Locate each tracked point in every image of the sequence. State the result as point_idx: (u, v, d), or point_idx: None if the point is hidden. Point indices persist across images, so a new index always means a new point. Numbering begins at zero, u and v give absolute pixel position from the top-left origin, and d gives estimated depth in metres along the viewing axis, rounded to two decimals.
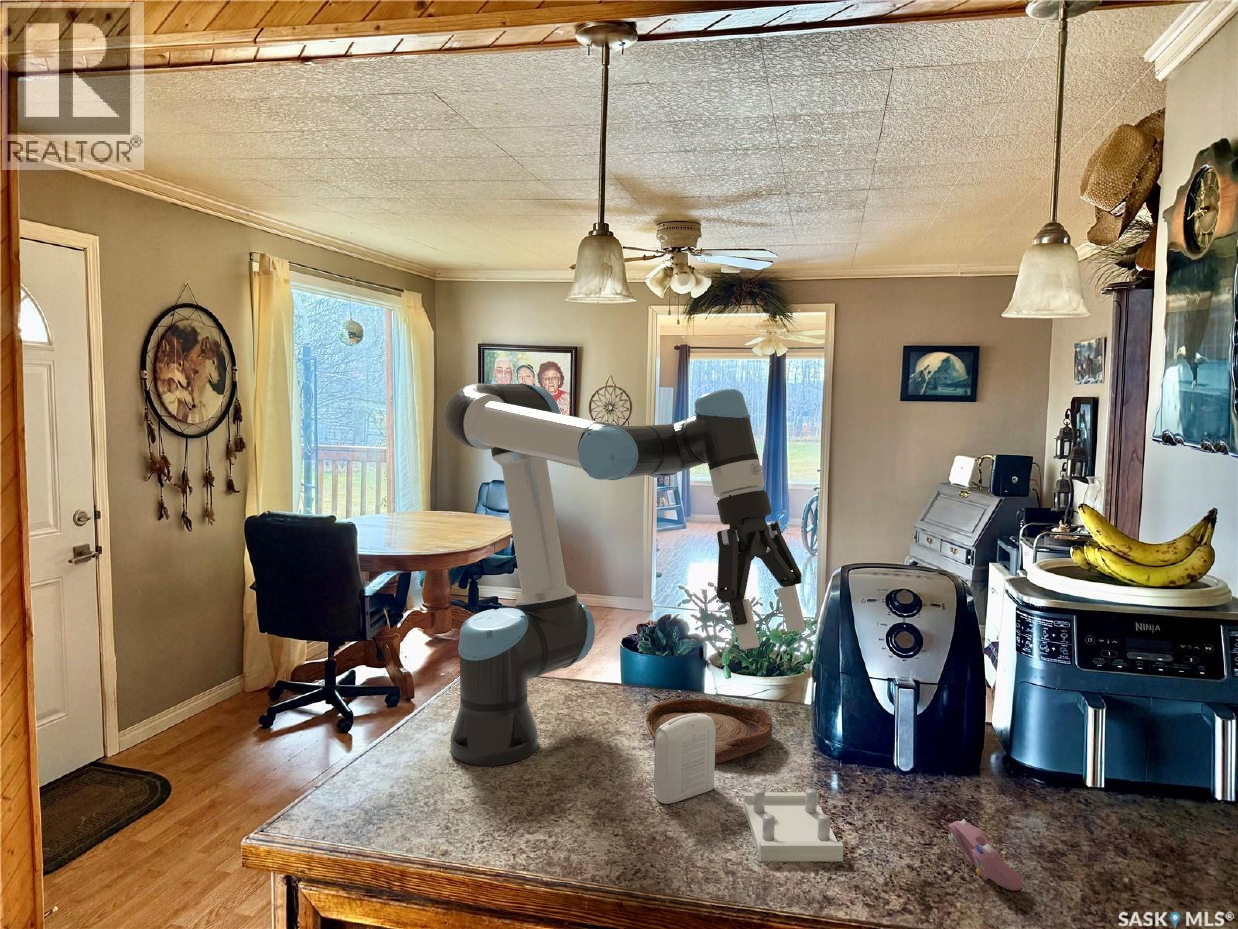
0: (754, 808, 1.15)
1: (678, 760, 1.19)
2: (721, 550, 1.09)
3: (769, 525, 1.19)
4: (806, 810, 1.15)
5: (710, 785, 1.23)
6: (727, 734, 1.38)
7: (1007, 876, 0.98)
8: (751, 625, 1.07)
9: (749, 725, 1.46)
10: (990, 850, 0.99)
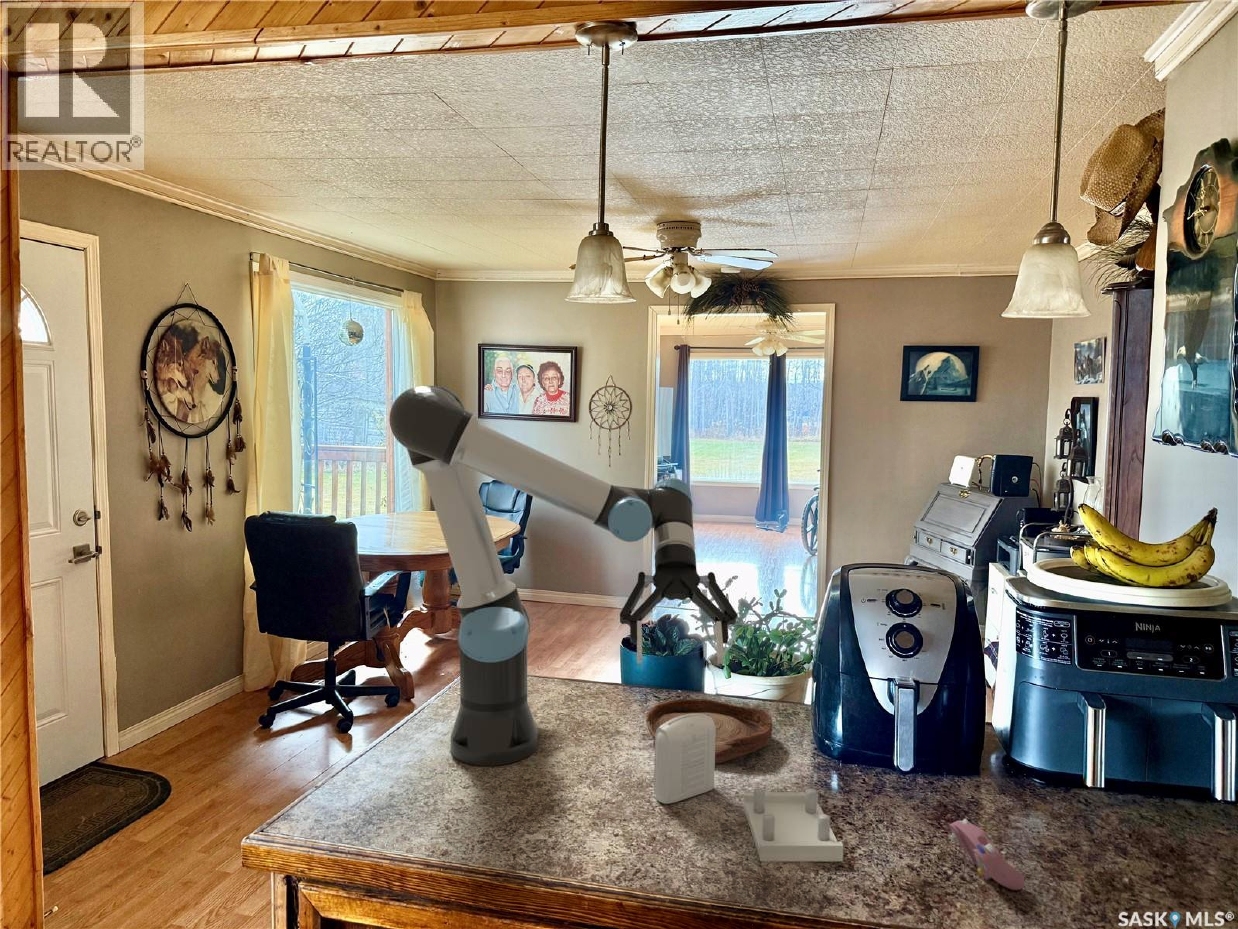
0: (754, 808, 1.15)
1: (678, 760, 1.19)
2: None
3: None
4: (806, 810, 1.15)
5: (710, 785, 1.23)
6: (727, 734, 1.38)
7: (1009, 875, 0.98)
8: None
9: (749, 725, 1.46)
10: (992, 849, 0.99)
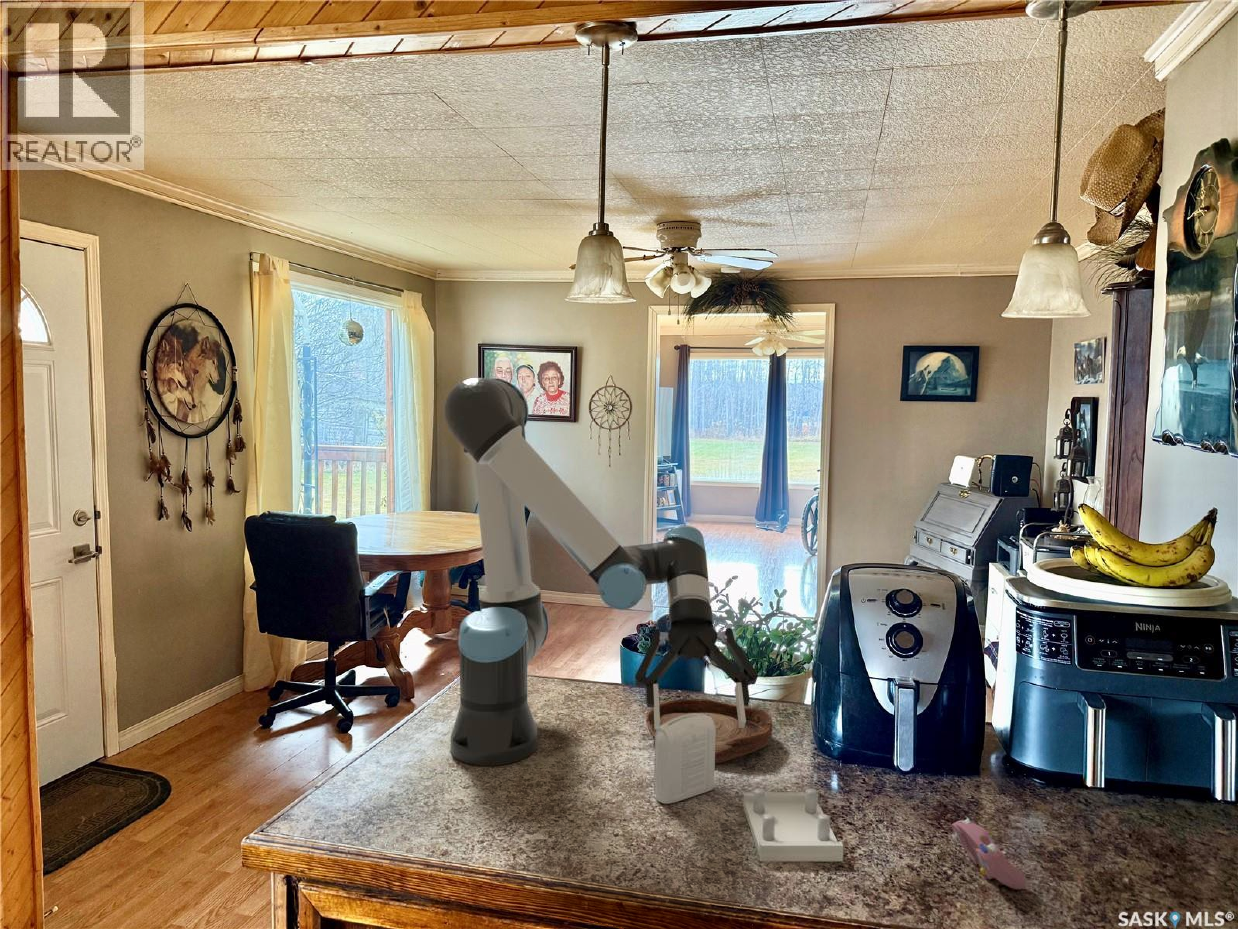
0: (754, 808, 1.15)
1: (678, 760, 1.19)
2: None
3: None
4: (806, 810, 1.15)
5: (710, 785, 1.23)
6: (727, 734, 1.38)
7: (1011, 875, 0.98)
8: None
9: (749, 725, 1.46)
10: (994, 849, 0.99)
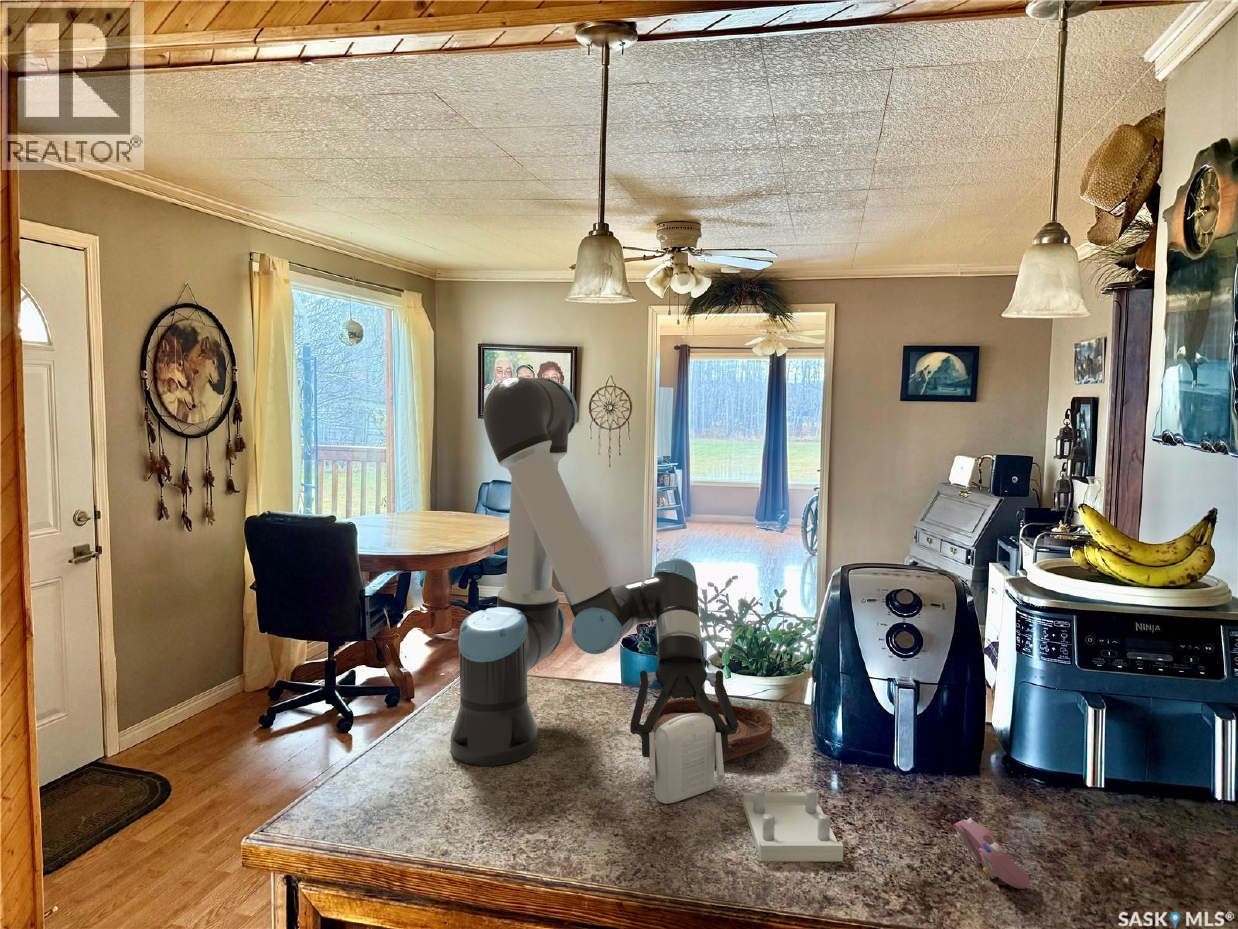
0: (754, 808, 1.15)
1: (678, 760, 1.19)
2: None
3: None
4: (806, 810, 1.15)
5: (710, 785, 1.23)
6: None
7: (1014, 874, 0.98)
8: None
9: (749, 725, 1.46)
10: (998, 849, 0.99)
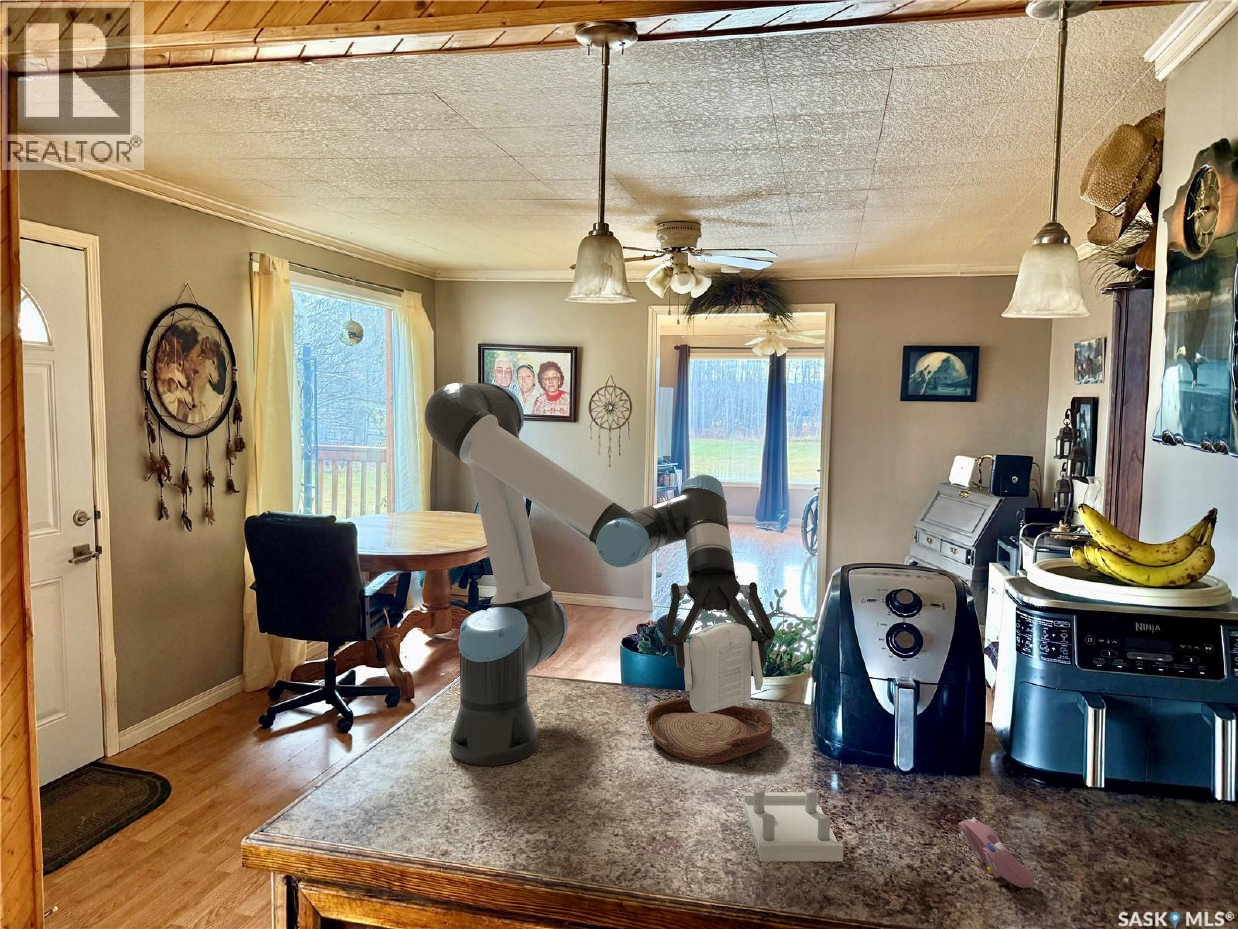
0: (754, 808, 1.15)
1: (715, 667, 1.14)
2: None
3: None
4: (806, 810, 1.15)
5: (747, 696, 1.19)
6: (727, 734, 1.38)
7: (1019, 873, 0.98)
8: None
9: (749, 725, 1.46)
10: (1002, 848, 0.99)
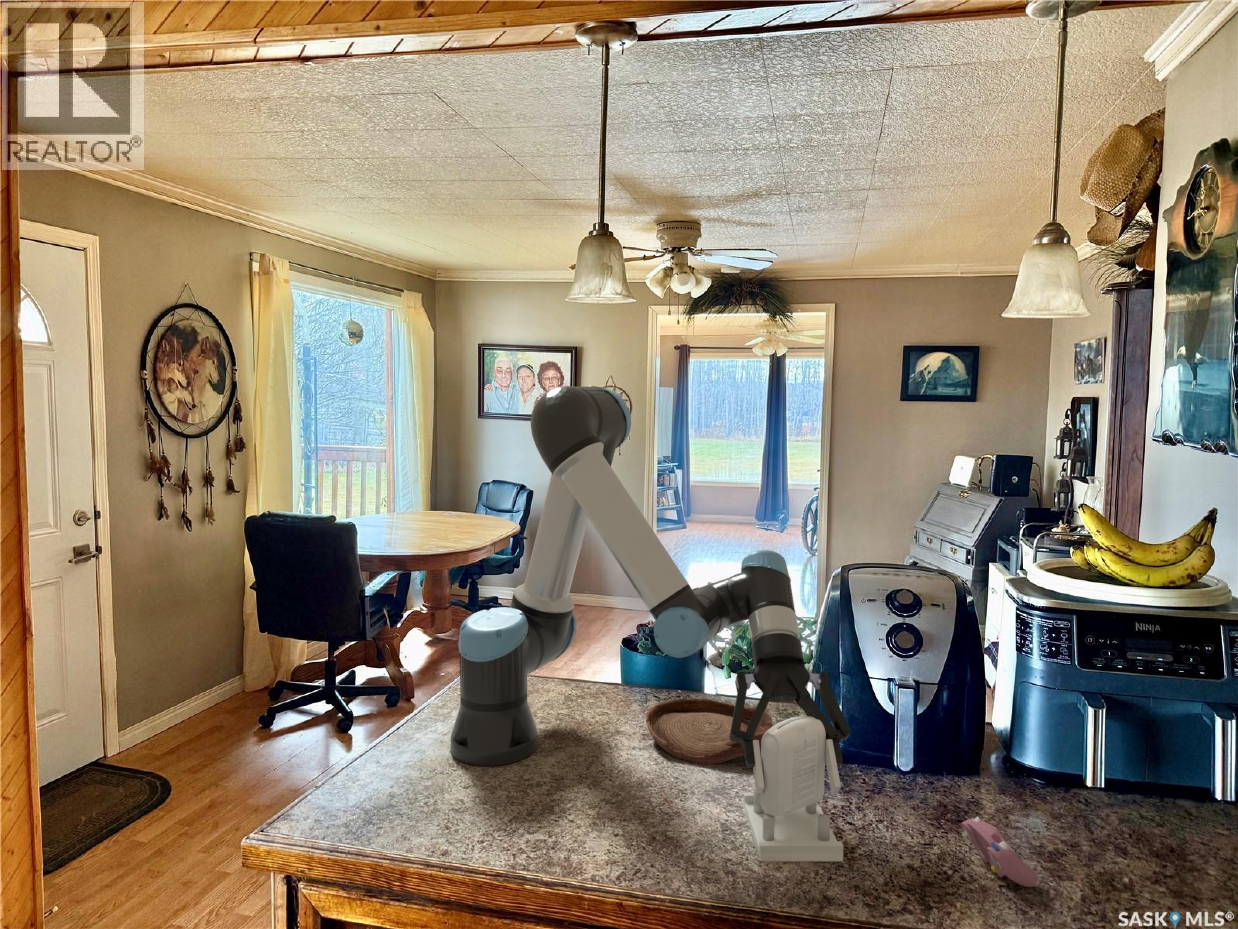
0: (754, 808, 1.15)
1: (789, 768, 1.07)
2: None
3: None
4: (806, 810, 1.15)
5: (820, 795, 1.12)
6: (727, 734, 1.38)
7: (1023, 872, 0.99)
8: None
9: None
10: (1006, 847, 1.00)
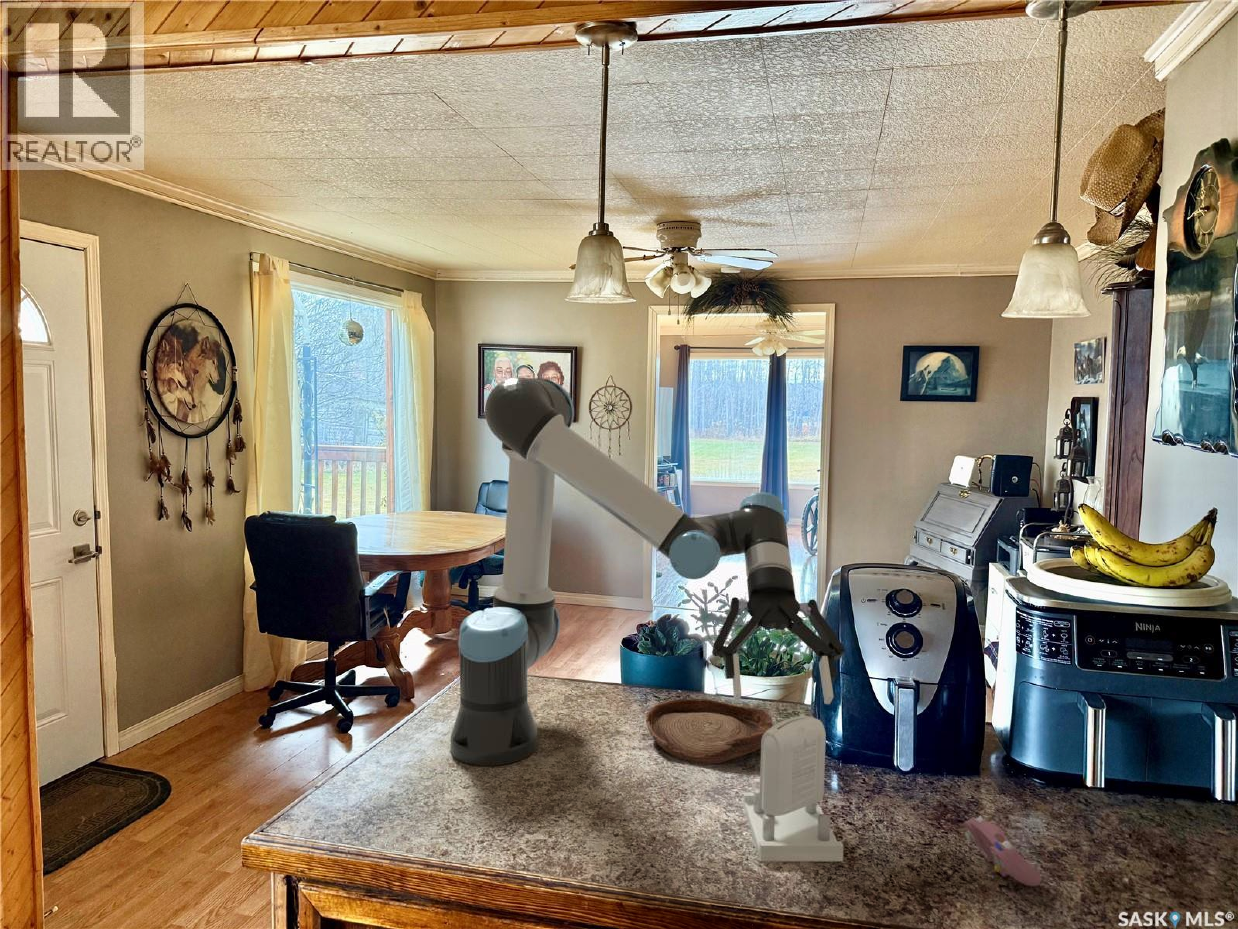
0: (754, 808, 1.15)
1: (789, 767, 1.07)
2: None
3: None
4: (806, 810, 1.15)
5: (820, 795, 1.12)
6: (727, 734, 1.38)
7: (1026, 872, 0.99)
8: None
9: (749, 725, 1.46)
10: (1009, 847, 1.00)
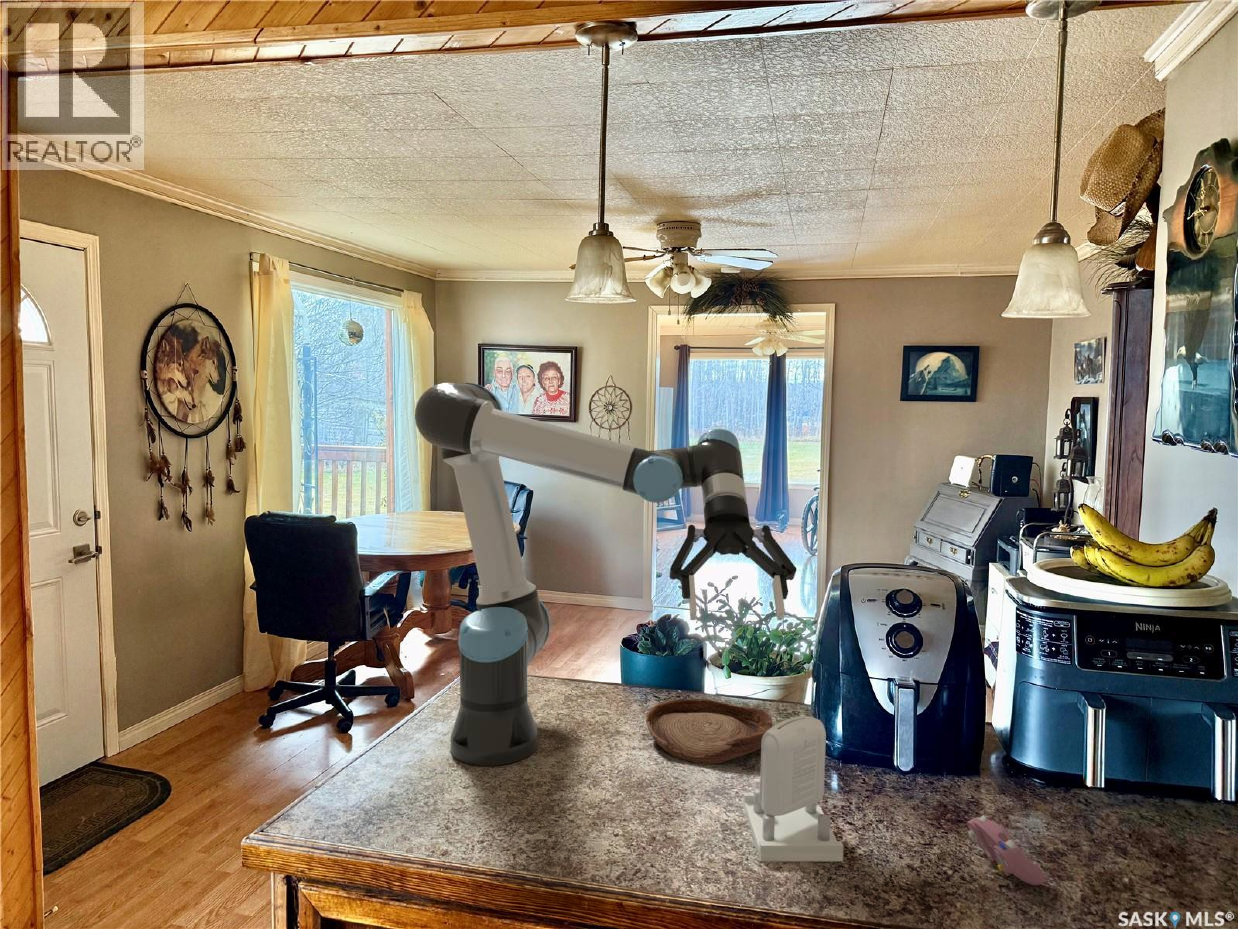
0: (754, 808, 1.15)
1: (789, 768, 1.07)
2: None
3: None
4: (806, 810, 1.15)
5: (820, 795, 1.12)
6: (727, 734, 1.38)
7: (1030, 871, 0.99)
8: None
9: (749, 725, 1.46)
10: (1013, 846, 1.00)
